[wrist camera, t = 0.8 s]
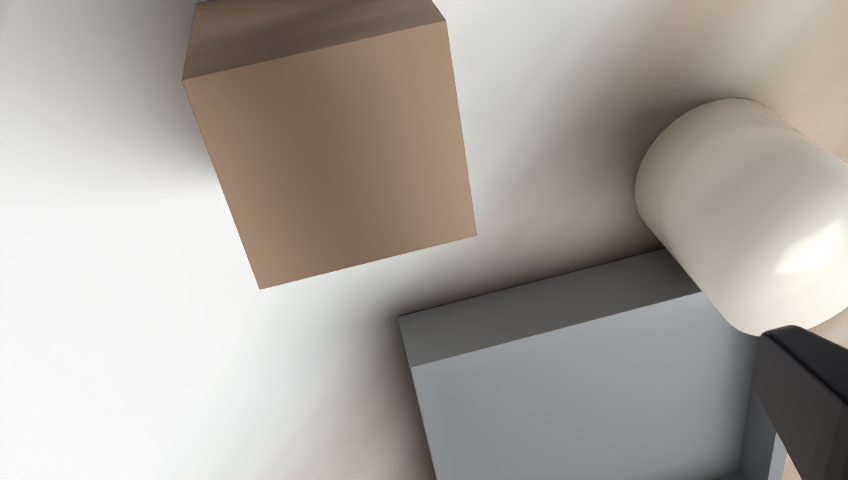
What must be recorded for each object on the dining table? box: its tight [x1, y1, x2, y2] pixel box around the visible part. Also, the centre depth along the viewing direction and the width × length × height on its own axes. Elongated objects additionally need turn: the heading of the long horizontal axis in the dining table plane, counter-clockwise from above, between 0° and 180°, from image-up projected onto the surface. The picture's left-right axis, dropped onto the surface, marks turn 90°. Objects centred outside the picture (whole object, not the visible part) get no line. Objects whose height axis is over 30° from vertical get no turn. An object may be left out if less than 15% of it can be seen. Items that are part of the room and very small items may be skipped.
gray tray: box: [398, 248, 811, 480], centre depth 27 cm, size 13×13×2 cm
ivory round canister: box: [634, 98, 848, 336], centre depth 21 cm, size 5×5×5 cm
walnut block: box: [182, 0, 477, 289], centre depth 17 cm, size 5×5×5 cm
